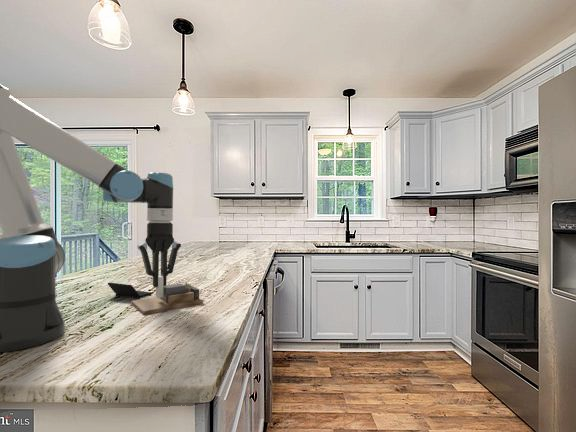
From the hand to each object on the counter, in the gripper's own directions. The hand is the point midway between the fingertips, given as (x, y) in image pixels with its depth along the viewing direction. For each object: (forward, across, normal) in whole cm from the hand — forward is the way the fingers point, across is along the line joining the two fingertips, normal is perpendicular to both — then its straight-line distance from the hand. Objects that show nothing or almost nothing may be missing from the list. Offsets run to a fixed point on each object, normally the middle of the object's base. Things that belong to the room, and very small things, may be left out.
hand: (159, 296), depth 99 cm
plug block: (+2, +4, 0) cm, 5 cm away
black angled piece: (+3, -4, +18) cm, 19 cm away
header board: (+3, +2, 0) cm, 4 cm away
